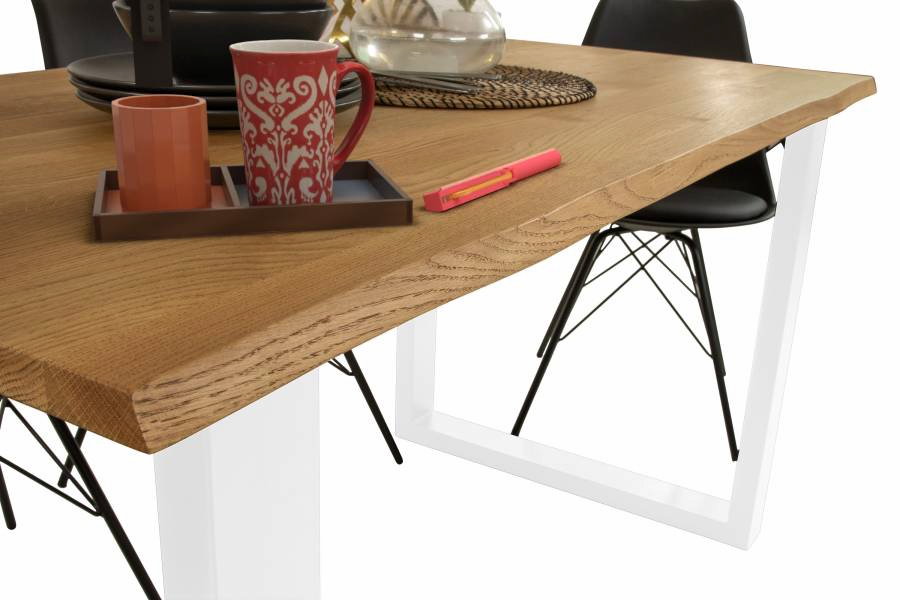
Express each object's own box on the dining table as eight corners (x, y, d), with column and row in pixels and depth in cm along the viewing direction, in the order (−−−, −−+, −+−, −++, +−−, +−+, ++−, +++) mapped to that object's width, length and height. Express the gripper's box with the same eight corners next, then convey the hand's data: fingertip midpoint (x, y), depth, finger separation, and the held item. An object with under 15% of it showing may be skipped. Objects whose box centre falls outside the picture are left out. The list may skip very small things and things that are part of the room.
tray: (95, 247, 77) (92, 215, 76) (101, 196, 91) (99, 169, 90) (412, 229, 84) (413, 199, 83) (372, 184, 98) (372, 159, 97)
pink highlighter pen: (410, 219, 89) (453, 211, 87) (404, 196, 89) (447, 187, 86) (535, 172, 109) (574, 164, 106) (531, 152, 108) (569, 144, 105)
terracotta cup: (214, 217, 83) (208, 107, 80) (120, 222, 81) (110, 109, 78) (209, 195, 90) (202, 93, 87) (122, 199, 88) (112, 95, 85)
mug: (257, 222, 82) (250, 52, 77) (223, 197, 89) (214, 40, 85) (396, 206, 88) (397, 47, 83) (353, 183, 95) (352, 37, 91)
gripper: (89, -203, 84) (108, 56, 92) (72, -250, 62) (98, 98, 69) (182, -196, 86) (192, 56, 94) (198, -239, 64) (210, 97, 71)
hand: (153, 74), depth 81 cm, fingers open, 13 cm apart
